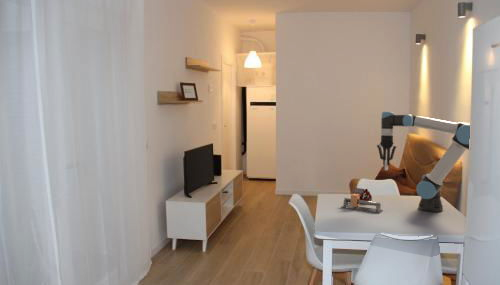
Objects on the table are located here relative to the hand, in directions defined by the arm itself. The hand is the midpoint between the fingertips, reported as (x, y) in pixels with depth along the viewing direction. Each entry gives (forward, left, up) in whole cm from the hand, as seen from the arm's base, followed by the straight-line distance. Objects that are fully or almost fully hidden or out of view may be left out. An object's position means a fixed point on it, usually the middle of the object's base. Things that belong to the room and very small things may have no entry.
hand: (386, 169), depth 292 cm
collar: (+17, +12, -24) cm, 32 cm away
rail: (+12, +12, -26) cm, 31 cm away
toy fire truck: (+18, -6, -27) cm, 33 cm away
